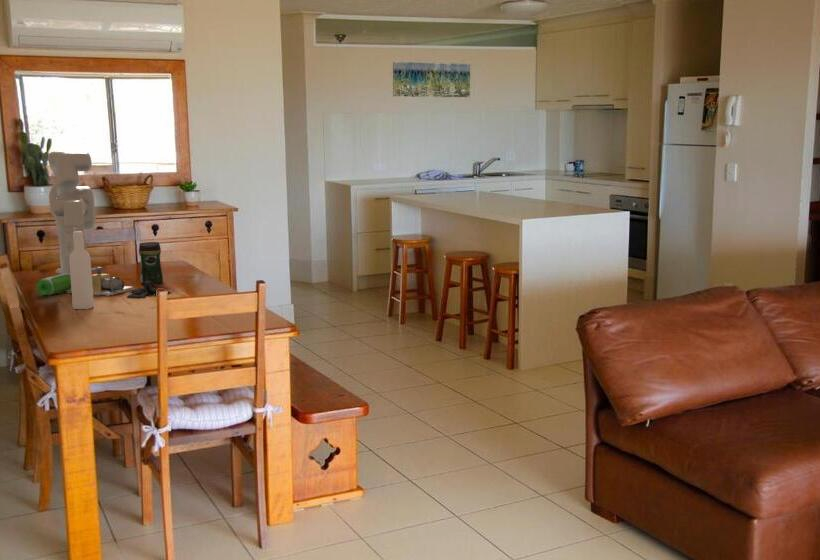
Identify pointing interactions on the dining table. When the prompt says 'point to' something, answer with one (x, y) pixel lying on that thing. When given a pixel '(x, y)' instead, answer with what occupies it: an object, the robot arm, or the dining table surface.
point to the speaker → (54, 284)
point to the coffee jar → (150, 262)
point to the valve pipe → (106, 285)
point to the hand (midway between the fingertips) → (77, 273)
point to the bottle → (81, 274)
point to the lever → (97, 269)
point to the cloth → (144, 291)
